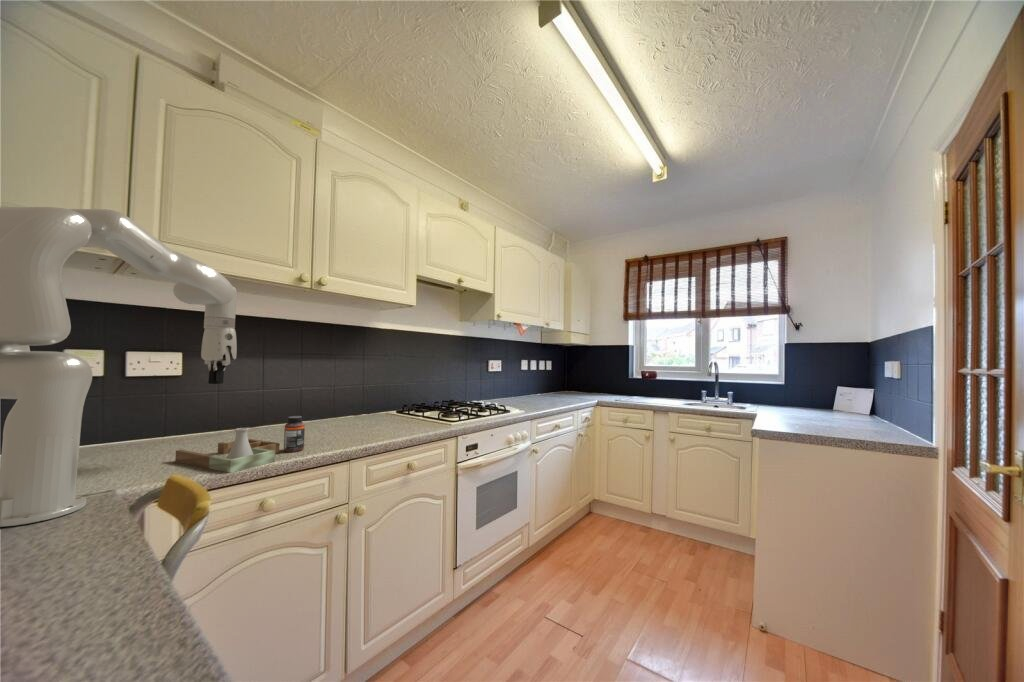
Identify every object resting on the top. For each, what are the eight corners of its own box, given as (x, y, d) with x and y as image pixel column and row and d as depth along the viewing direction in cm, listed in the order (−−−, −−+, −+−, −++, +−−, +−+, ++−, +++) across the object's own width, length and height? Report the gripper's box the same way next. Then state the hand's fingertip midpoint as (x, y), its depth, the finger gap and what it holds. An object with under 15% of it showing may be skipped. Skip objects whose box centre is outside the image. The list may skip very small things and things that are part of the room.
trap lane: (230, 472, 100) (230, 460, 100) (175, 461, 109) (175, 450, 109) (296, 455, 118) (296, 445, 118) (244, 447, 127) (245, 438, 127)
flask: (241, 466, 105) (243, 431, 106) (217, 465, 106) (220, 430, 106) (260, 460, 112) (262, 427, 113) (238, 459, 113) (240, 426, 114)
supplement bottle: (290, 448, 128) (292, 415, 128) (307, 448, 128) (309, 415, 128) (279, 452, 122) (281, 417, 122) (296, 452, 122) (298, 418, 122)
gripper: (248, 325, 115) (244, 384, 114) (218, 326, 121) (214, 382, 120) (221, 322, 108) (217, 385, 107) (191, 323, 114) (186, 383, 113)
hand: (215, 383), depth 114 cm, fingers closed
